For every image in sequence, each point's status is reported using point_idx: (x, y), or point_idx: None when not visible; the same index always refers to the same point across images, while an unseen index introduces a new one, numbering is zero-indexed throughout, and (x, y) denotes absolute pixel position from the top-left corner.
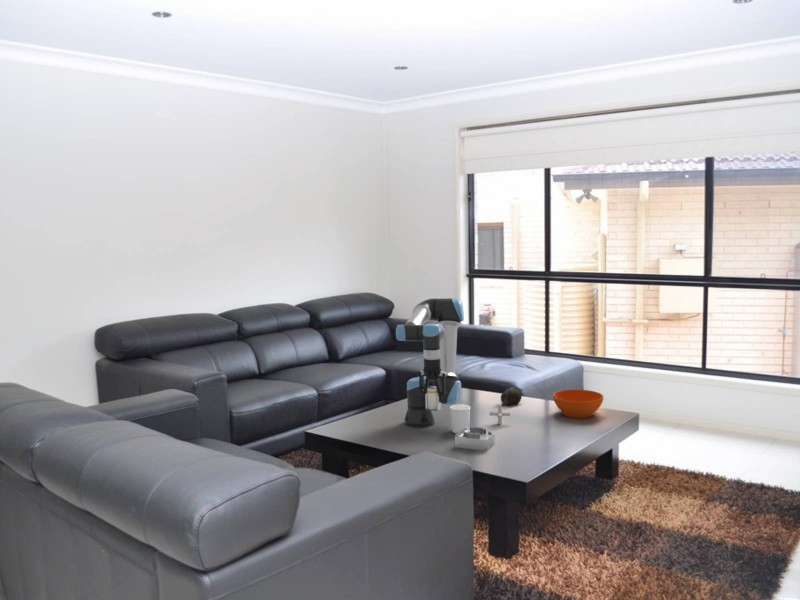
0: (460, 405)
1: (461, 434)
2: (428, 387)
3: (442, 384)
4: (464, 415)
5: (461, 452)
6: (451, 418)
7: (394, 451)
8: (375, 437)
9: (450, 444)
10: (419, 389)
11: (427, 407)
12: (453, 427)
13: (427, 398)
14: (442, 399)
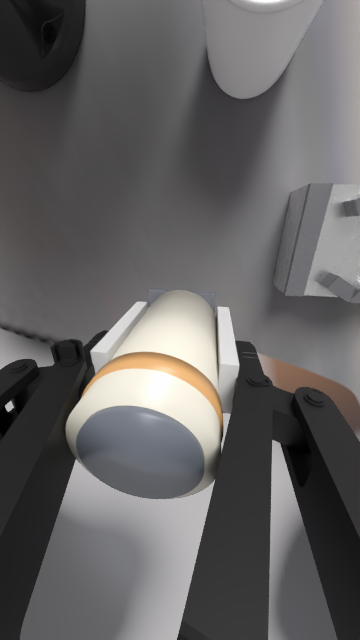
0: None
1: (309, 269)
2: (95, 475)
3: (349, 619)
4: (320, 3)
5: (302, 322)
6: (214, 38)
7: None
8: (11, 269)
9: (250, 260)
10: (9, 424)
11: None
12: (226, 81)
13: None
14: (256, 356)
